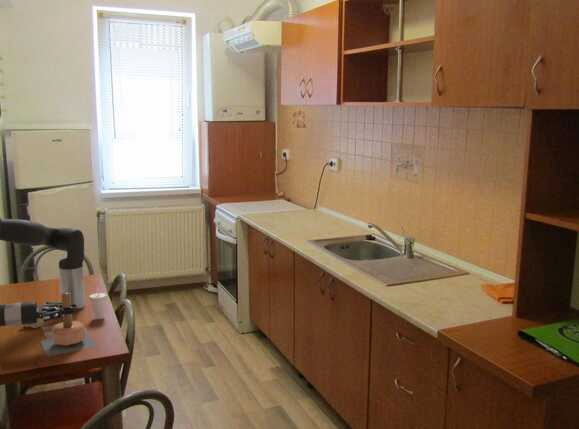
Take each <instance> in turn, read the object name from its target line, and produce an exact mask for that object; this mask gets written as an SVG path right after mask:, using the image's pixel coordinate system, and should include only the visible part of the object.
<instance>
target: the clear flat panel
mask: <svg viewBox="0 0 579 429" xmlns="http://www.w3.org/2000/svg"><path fill="white" fill-rule="evenodd" d="M75 321H78V322H81V323H83V322H82V321H81V319H78V320H75ZM56 324H57V323H53V324H48V325H43V326H40V329H41V330H42V333H43V335H44V336H45V340H48V339H52V328H53V326H55V325H56ZM83 326H84V324H83ZM84 328H85V333H86V332H88V330H87V328H86V327H85V326H84ZM88 333H89V332H88Z"/></svg>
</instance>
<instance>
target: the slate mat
mask: <svg viewBox="0 0 579 429" xmlns="http://www.w3.org/2000/svg"><path fill="white" fill-rule="evenodd" d="M40 342H41V345H42V347H43V349H44V352H45V355H46V357H53V356H57V355H61V354H68V353H72V352H73V353H74V352H77V351H82V350H89V349H93V348H97V347H98V346H97V344H96V342H95V341H94V340H93V338H92V336H91V334H90V333H89V332H85V339H83V340H81V341H80V342H78V343H74V344H70V345H69V346H64V345H59V344H54V342H53V340H52V338H51V339H43V340H40Z"/></svg>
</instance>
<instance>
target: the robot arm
mask: <svg viewBox="0 0 579 429" xmlns="http://www.w3.org/2000/svg"><path fill="white" fill-rule="evenodd" d="M0 241H4V242H6V243H12V244H17V245H23V246H28V247H29V246H30V247H36V246H37V247H39V246H45V247H49V248H53V249H57V250H59V251H64V252H65V251H66V257H65V258H61V259H59V261H58V272H59V273H58V274H59V286H60V294H61V293H63V292H70V293H71V307H69V308H62V299H61V298H60V301H46V302H45V303H44V304H42V305H37V302H36V301H34V300H33V301H24V302H14V303H13V302H12V303H8V304H0V327H8V326H9V327H12V326H13V327H14V326H15V327H16V326H26V325H27V324H36V323H37V318H40V319H42V320H43V321H44V322H48V321H53V320H58V319H63V316H64V315H67V314H72V315H74V314H76V313H77V310H78V309H79V310H81V309H82V308H85V306H86V296H85V295H86V294H85V278H84V277H85V276H84V264H83V263H84V260H85V259H84V258H85V236H84V234H83V232H82V231H81V230H80V229H79V228H69V227H47V226H45V225H44V224H42V223H40V222H37V221H33V220H29V219H28V220H27V219H18V218H17V219H16V218H14V219H13V218H4V219H3V218H1V217H0Z"/></svg>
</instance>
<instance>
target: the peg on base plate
mask: <svg viewBox="0 0 579 429" xmlns="http://www.w3.org/2000/svg"><path fill="white" fill-rule="evenodd" d="M61 299H62V308H69V307H71V293H70V292H63V293H61V292H60V300H61ZM81 322H82V321H81ZM81 322H78V321H76V320H73V314H67V315H64V316H62V322H59V323H55V324H56V325H55V326H53V328H52V338H51V339H52V340H53V342H54V344H59V345H69V344H74V343H78V342H80V341H81V340H83V339H85V333H86V332H85V328H86V327H85V326H83V325H84V323H83V322H82V323H81ZM84 327H85V328H84Z"/></svg>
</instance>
